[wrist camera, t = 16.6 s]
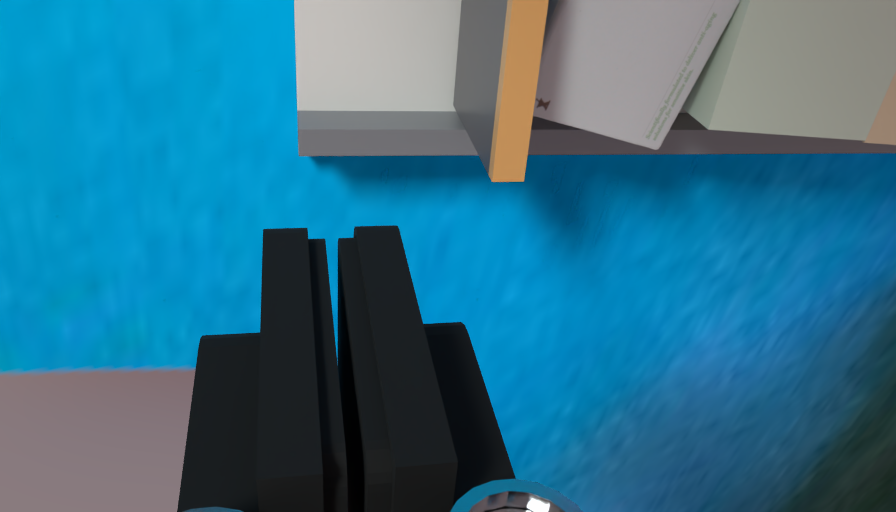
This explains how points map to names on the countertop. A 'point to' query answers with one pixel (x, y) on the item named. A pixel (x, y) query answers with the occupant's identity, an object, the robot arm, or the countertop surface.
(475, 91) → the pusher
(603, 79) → the small box
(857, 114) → the sage box
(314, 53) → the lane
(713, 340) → the countertop surface
